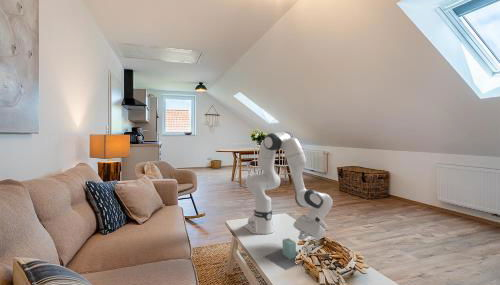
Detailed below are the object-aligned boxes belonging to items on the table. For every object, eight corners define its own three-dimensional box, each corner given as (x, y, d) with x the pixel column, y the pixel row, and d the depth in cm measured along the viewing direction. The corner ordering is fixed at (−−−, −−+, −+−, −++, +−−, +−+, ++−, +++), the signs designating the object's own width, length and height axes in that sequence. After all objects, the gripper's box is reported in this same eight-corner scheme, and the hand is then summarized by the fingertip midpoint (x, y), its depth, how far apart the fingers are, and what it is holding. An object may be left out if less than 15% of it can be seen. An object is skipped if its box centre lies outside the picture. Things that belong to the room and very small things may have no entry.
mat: (263, 257, 131) (263, 256, 131) (286, 248, 142) (286, 247, 142) (285, 271, 118) (285, 270, 118) (310, 259, 128) (310, 258, 128)
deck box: (282, 254, 134) (282, 239, 134) (288, 252, 136) (288, 238, 135) (289, 259, 128) (289, 244, 128) (295, 257, 130) (295, 242, 130)
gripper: (299, 211, 147) (285, 230, 143) (323, 221, 129) (309, 243, 125) (305, 217, 149) (292, 236, 145) (329, 228, 131) (316, 250, 127)
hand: (300, 239), depth 135 cm, fingers closed
